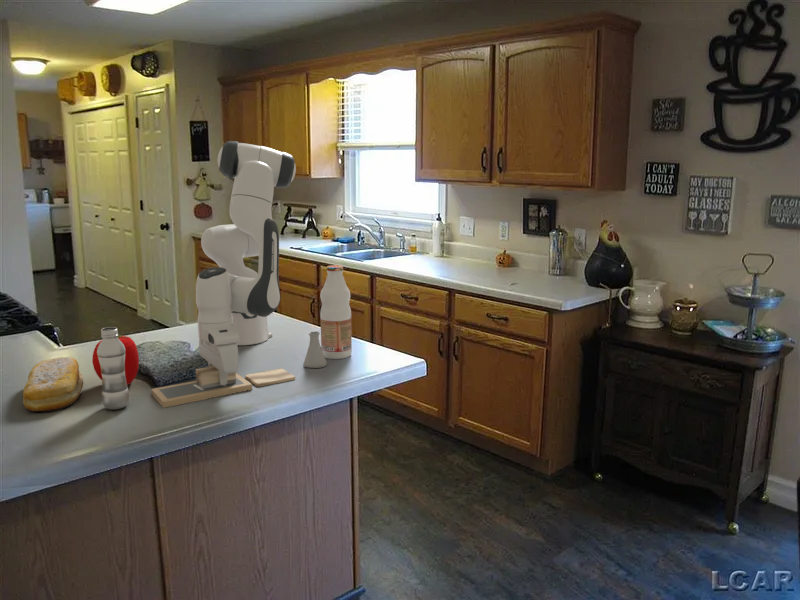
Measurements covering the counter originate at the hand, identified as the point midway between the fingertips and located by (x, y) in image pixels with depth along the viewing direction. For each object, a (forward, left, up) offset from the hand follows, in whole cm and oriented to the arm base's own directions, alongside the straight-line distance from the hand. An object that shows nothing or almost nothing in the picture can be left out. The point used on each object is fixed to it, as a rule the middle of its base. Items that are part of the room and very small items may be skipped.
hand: (218, 380), depth 175 cm
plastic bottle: (-1, -26, -2) cm, 26 cm away
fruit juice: (-9, +40, -2) cm, 41 cm away
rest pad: (0, +14, -2) cm, 15 cm away
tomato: (-18, -22, -2) cm, 28 cm away
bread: (-19, -37, -3) cm, 41 cm away
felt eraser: (0, -1, -1) cm, 1 cm away
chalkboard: (0, -5, -2) cm, 5 cm away
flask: (-4, +30, -3) cm, 31 cm away
